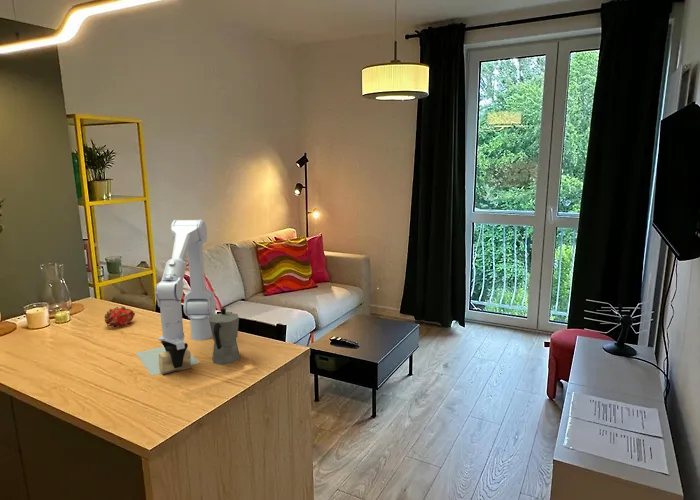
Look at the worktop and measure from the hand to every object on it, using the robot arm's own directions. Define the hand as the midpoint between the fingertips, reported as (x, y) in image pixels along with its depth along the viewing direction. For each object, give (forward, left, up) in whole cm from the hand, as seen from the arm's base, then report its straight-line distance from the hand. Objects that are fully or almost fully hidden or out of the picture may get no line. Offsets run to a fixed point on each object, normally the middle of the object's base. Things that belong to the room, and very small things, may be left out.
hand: (175, 364), depth 135 cm
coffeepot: (-14, +3, -3) cm, 15 cm away
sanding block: (0, 0, -1) cm, 1 cm away
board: (0, -10, -3) cm, 10 cm away
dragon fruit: (+5, -55, -3) cm, 55 cm away
